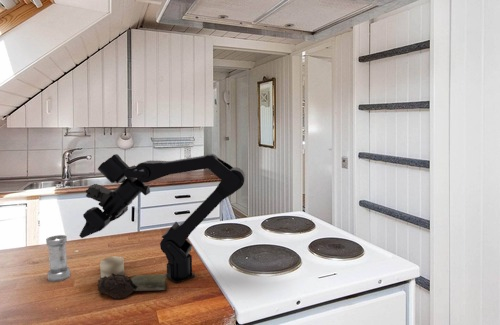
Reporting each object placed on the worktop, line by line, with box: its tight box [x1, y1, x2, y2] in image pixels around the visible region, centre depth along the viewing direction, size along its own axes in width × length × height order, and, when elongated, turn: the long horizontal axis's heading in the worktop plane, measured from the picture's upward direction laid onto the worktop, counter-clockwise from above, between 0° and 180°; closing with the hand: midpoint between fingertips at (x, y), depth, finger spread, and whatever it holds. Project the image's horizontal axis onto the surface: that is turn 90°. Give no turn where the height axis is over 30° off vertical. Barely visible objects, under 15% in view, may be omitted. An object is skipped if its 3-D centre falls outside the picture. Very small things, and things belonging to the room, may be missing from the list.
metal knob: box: [45, 234, 71, 283], centre depth 101 cm, size 6×6×12 cm
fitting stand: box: [99, 256, 126, 279], centre depth 101 cm, size 7×7×5 cm
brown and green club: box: [97, 273, 168, 300], centre depth 91 cm, size 18×7×6 cm, turn 99°
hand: (88, 231), depth 100 cm, fingers open, 9 cm apart
